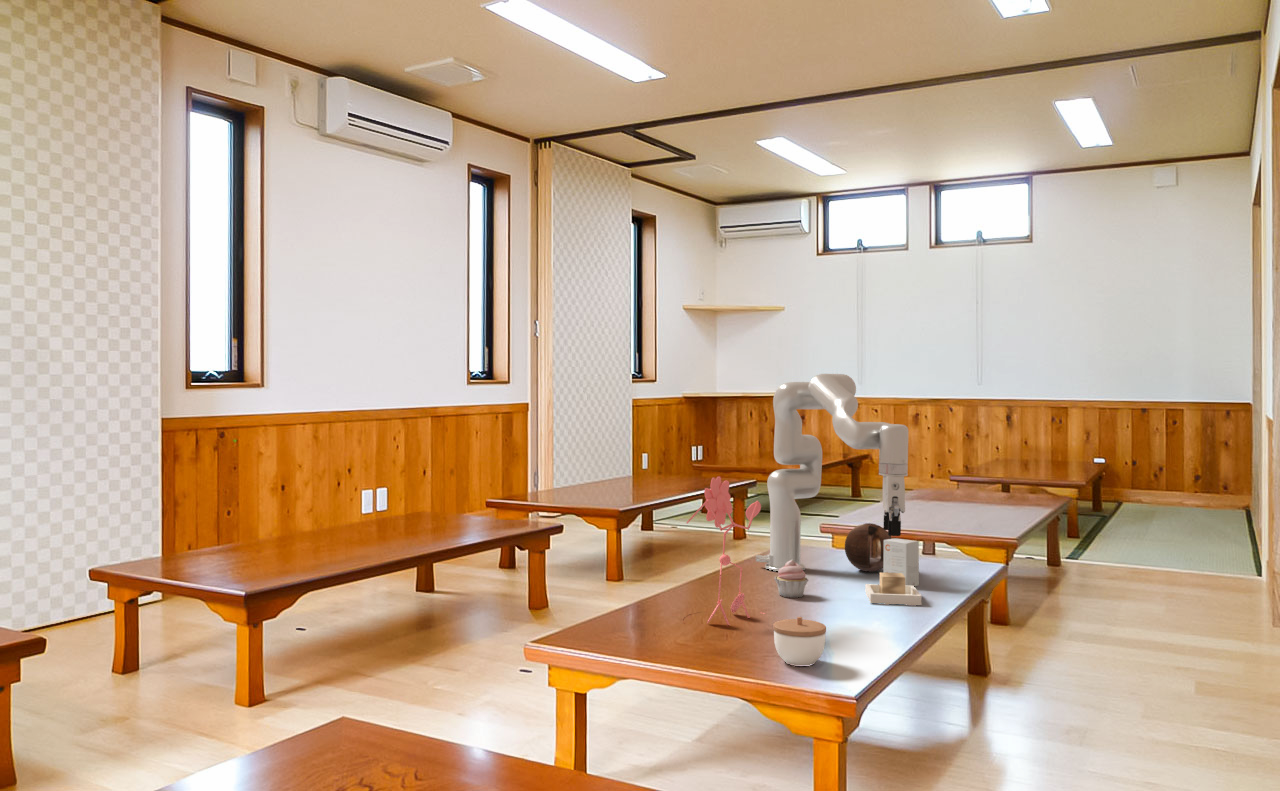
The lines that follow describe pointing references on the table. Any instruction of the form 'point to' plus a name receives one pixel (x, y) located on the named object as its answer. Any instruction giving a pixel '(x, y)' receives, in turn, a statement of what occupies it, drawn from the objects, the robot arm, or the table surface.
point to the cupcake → (791, 580)
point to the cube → (892, 583)
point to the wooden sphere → (866, 546)
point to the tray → (893, 595)
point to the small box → (902, 559)
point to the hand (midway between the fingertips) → (891, 532)
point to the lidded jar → (799, 640)
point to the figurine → (717, 510)
